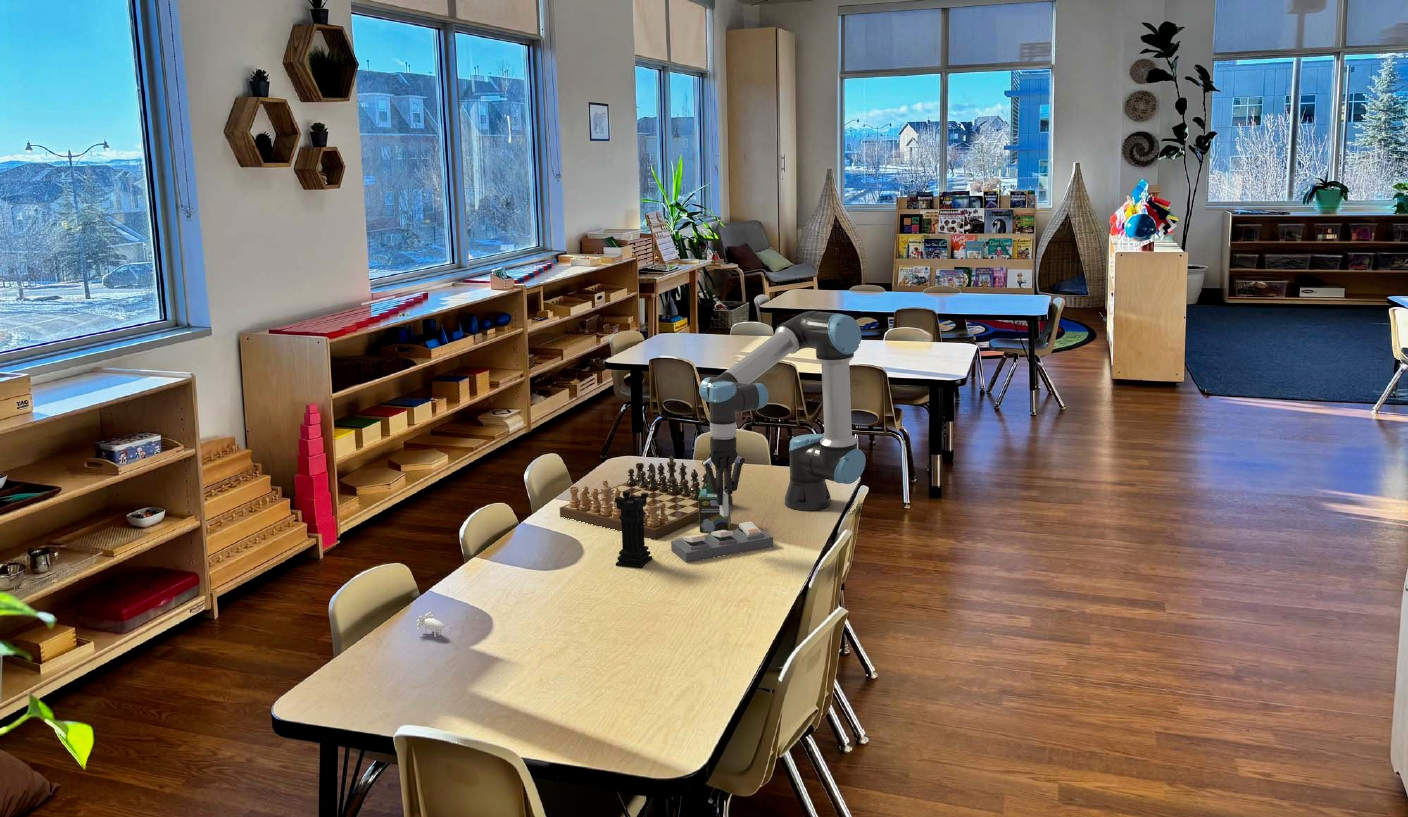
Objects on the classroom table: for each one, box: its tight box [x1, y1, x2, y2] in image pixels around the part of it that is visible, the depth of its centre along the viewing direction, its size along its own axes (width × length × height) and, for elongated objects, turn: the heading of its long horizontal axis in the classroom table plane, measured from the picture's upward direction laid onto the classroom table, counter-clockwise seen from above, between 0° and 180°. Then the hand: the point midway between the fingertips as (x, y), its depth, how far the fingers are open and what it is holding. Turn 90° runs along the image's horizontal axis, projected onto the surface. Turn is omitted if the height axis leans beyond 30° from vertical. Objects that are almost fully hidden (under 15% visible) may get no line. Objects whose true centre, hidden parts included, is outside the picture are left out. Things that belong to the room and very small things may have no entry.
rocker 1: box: [682, 534, 705, 542], centre depth 323 cm, size 4×6×1 cm, turn 24°
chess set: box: [559, 455, 734, 541], centre depth 362 cm, size 40×40×15 cm
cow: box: [415, 610, 452, 638], centre depth 272 cm, size 12×5×5 cm, turn 52°
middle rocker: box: [710, 530, 733, 537], centre depth 326 cm, size 4×6×1 cm, turn 24°
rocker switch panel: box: [670, 525, 774, 564], centre depth 327 cm, size 28×11×4 cm, turn 114°
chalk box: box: [698, 483, 732, 533], centre depth 344 cm, size 9×9×15 cm
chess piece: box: [615, 491, 653, 570], centre depth 316 cm, size 8×8×20 cm
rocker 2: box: [738, 520, 761, 536], centre depth 330 cm, size 4×6×1 cm, turn 24°
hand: (724, 515), depth 323 cm, fingers closed
